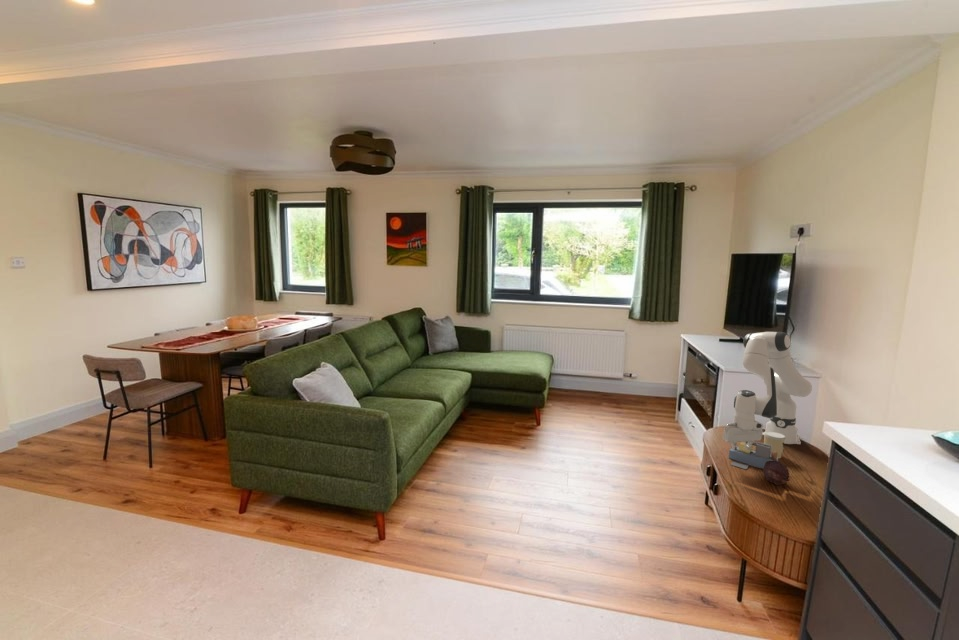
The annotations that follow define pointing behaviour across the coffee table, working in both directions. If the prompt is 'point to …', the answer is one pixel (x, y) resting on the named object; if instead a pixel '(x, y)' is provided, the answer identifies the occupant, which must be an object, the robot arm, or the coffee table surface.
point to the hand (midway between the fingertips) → (740, 449)
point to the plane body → (754, 455)
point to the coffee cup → (775, 442)
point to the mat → (739, 465)
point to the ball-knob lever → (755, 443)
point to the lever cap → (742, 448)
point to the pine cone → (776, 472)
